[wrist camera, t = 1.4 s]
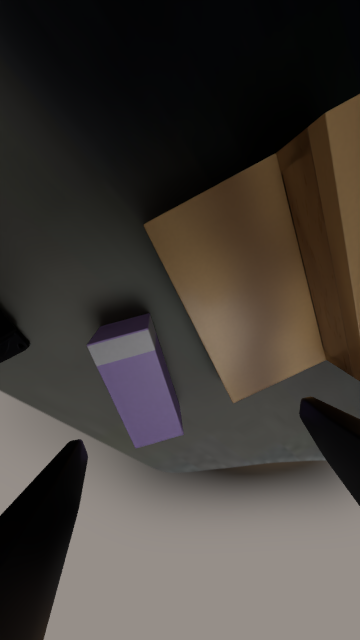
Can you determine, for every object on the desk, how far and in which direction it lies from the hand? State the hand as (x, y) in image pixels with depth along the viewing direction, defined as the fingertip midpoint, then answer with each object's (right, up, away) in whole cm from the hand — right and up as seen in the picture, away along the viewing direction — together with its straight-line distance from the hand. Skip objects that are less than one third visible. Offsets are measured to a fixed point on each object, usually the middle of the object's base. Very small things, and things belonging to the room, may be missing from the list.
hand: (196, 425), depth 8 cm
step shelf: (+7, +8, +12) cm, 16 cm away
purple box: (-5, -1, +13) cm, 14 cm away
